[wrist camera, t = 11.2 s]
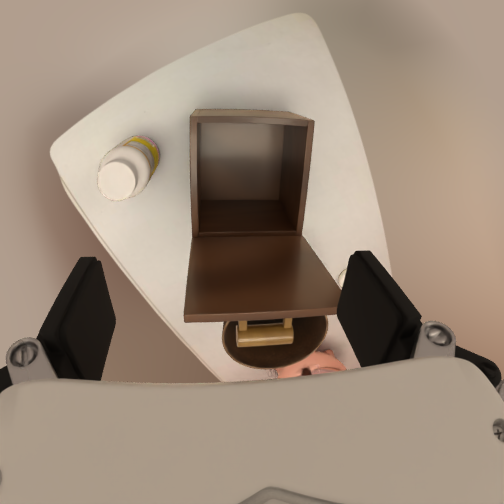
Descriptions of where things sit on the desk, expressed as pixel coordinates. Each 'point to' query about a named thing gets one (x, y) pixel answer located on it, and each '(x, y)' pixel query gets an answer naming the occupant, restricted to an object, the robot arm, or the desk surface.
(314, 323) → the flower pot
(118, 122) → the desk surface
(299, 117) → the chest
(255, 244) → the brown wooden box lid
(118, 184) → the supplement bottle
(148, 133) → the desk surface
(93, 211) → the desk surface
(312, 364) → the piggy bank
